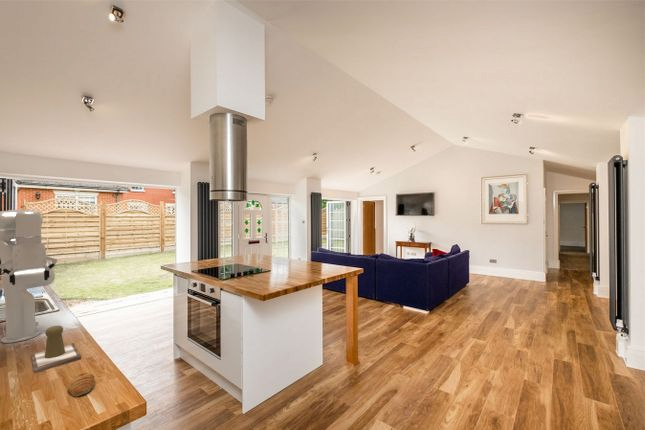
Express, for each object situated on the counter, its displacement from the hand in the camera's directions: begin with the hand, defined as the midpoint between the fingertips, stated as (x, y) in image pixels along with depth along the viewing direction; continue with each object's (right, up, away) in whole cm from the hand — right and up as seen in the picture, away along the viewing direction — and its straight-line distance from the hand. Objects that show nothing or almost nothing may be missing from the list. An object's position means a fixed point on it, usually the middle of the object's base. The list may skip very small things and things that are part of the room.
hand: (30, 282), depth 123 cm
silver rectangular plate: (+17, -28, -7) cm, 34 cm away
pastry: (+45, -28, -28) cm, 60 cm away
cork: (+17, -27, -7) cm, 33 cm away
